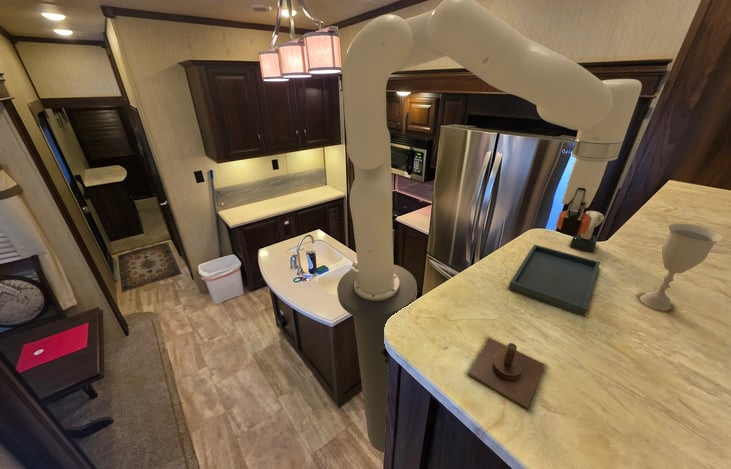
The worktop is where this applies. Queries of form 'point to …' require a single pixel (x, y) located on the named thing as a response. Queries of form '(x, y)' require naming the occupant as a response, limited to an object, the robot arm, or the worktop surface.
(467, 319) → the worktop surface
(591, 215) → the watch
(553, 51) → the robot arm
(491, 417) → the worktop surface
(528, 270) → the tray
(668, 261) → the chalice
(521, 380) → the stand
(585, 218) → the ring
